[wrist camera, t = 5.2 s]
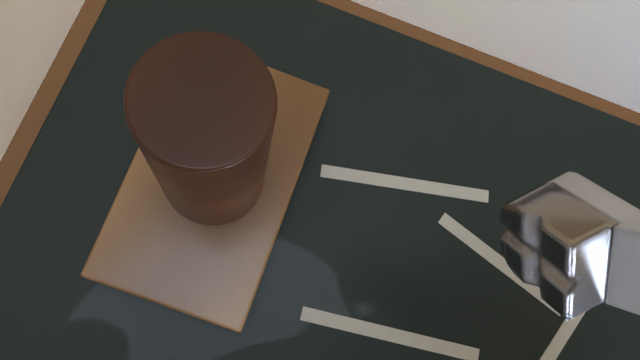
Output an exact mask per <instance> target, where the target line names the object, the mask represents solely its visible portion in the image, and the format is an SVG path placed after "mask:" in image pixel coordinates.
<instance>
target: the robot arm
mask: <svg viewBox="0 0 640 360" xmlns="http://www.w3.org/2000/svg"><path fill="white" fill-rule="evenodd" d="M500 222H501V223H502V224H504V225H505V226H506V227H507V228H506V230H505V232H504V234H503V236H502V238H501V246H502V254H503V256H504V258H505V260H506V263H507V265H508V267H509V268H510V269H511V270H512V272H513V273H514V274H515V275H516V276H517V277H518V278H519V279H520V280H521V281H522V282H523V283H525V284H529V285H533V286H537V287H539V288H540V294H541V298H542V299H543V300H544V301H545V302H546V303H547V304H548V305H550V306H551V307H552V308H553V309H554V310H555V311H557V312H558V313H559V314H560V315H561V316H562V317H563V318H565V319H566V320H567V321H569V320H571V319H572V318H574V317H576V316H578V315H580V314H582V313H584V312H586V311H588V310H590V309H591V308H593V307H595V306H597V305H599V304H601V303H603V302H605V301H606V304H608V305H611V306H614V307H617V308H620V309H623V310H626V311H629V312H631V313H634V314H637V315H640V209H638V208H636V207H634V206H633V205H631V204H629V203H628V202H626V201H624V200H622V199H621V198H619V197H617V196H616V195H614V194H612V193H611V192H609V191H607V190H605V189H604V188H602V187H600V186H599V185H597V184H595V183H593V182H592V181H590V180H588V179H587V178H585V177H583V176H582V175H580V174H578V173H575V172H569V171H568V172H566V173H564V174H562V175H560V176H559V177H557V178H555V179H553V180H551V181H549V182H547V183H546V184H542V185H540V186H538V187H536V188H534V189H532V190H530V191H529V192H527V193H525V194H523V195H521V196H519V197H517V198H515V199H513V200H511V201H509V202H507V203H505V204H503V205H502V208H501V210H500Z"/></svg>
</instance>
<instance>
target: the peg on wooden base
mask: <svg viewBox="0 0 640 360" xmlns="http://www.w3.org/2000/svg"><path fill="white" fill-rule="evenodd" d="M329 93H330V91H329V90H328V89H326V88H323V87H320V86H318V85H315V84H312V83H310V82H307V81H305V80H302V79H299V78H297V77H294V76H291V75H289V74H286V73H284V72H281V71H278V70H276V69H273V68H270V67H268V66H266V65H265V63H264V62H263V61H262V59H261V58H260V57H259V56H258V55H257V54H256V53H255V52H254V51H253V50H251V49H250V48H249V47H247V46H246V45H245V44H243V43H241V42H240V41H238V40H236V39H234V38H231V37H229V36H226V35H223V34H220V33H214V32H207V31H192V32H185V33H180V34H177V35H173V36H171V37H168V38H166V39H164V40H162V41H160V42H159V43H157V44H155V45H154V46H153V47H151V48H150V49H149V50H147V51H146V52H145V53H144V54H143V55H142V56H141V57H140V59H139V60H138V61H137V63H136V64H135V65H134V67H133V69H132V71H131V72H130V74H129V77H128V79H127V82H126V86H125V90H124V99H123V104H124V114H125V119H126V122H127V125H128V128H129V130H130V132H131V134H132V136H133V137H134V139H135V141H136V143H137V145H138V146H139V147H138V150H137V152H136V154H135V156H134V158H133V161H132V163H131V165H130V167H129V169H128V171H127V174H126V176H125V178H124V180H123V182H122V185H121V187H120V189H119V191H118V193H117V195H116V198H115V200H114V202H113V204H112V206H111V209H110V211H109V213H108V215H107V217H106V219H105V222H104V224H103V226H102V228H101V230H100V233H99V235H98V237H97V239H96V241H95V243H94V246H93V248H92V250H91V252H90V254H89V257H88V259H87V261H86V263H85V265H84V267H83V270H82V272H81V276H82V277H84V278H87V279H89V280H92V281H95V282H98V283H101V284H104V285H106V286H109V287H112V288H115V289H118V290H120V291H123V292H126V293H129V294H132V295H135V296H137V297H140V298H143V299H146V300H149V301H151V302H154V303H157V304H160V305H163V306H165V307H168V308H171V309H174V310H177V311H180V312H182V313H185V314H188V315H191V316H194V317H196V318H199V319H202V320H205V321H208V322H211V323H213V324H216V325H219V326H222V327H225V328H227V329H230V330H233V331H236V332H241V331H242V329H243V327H244V324H245V321H246V318H247V316H248V313H249V310H250V308H251V305H252V302H253V299H254V297H255V294H256V291H257V289H258V286H259V283H260V280H261V278H262V275H263V272H264V269H265V267H266V264H267V261H268V259H269V256H270V253H271V250H272V248H273V245H274V242H275V240H276V237H277V234H278V231H279V229H280V226H281V223H282V221H283V218H284V215H285V212H286V210H287V207H288V204H289V201H290V199H291V196H292V193H293V191H294V188H295V185H296V182H297V180H298V177H299V174H300V172H301V169H302V166H303V163H304V161H305V158H306V155H307V153H308V150H309V147H310V144H311V142H312V139H313V136H314V134H315V131H316V128H317V125H318V123H319V120H320V117H321V114H322V112H323V109H324V106H325V104H326V101H327V98H328V95H329Z"/></svg>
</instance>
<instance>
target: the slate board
mask: <svg viewBox="0 0 640 360" xmlns="http://www.w3.org/2000/svg"><path fill="white" fill-rule="evenodd" d="M192 31H207V32H214V33H220V34H223V35H226V36H229V37H231V38H234V39H236V40H238V41H240V42H241V43H243V44H245V45H246V46H247V47H249V48H250V49H251V50H253V51H254V52H255V53H256V54H257V55H258V56H259V57H260V58H261V59H262V61H263V62H264V63H265V65H266V66H268V67H270V68H273V69H276V70H278V71H281V72H284V73H286V74H289V75H291V76H294V77H297V78H299V79H302V80H305V81H307V82H310V83H312V84H315V85H318V86H320V87H323V88H326V89H328V90H329V91H330V93H329V95H328V98H327V101H326V104H325V106H324V109H323V112H322V114H321V117H320V120H319V123H318V125H317V128H316V131H315V134H314V136H313V139H312V142H311V144H310V147H309V150H308V153H307V155H306V158H305V161H304V163H303V166H302V169H301V172H300V174H299V177H298V180H297V182H296V185H295V188H294V191H293V193H292V196H291V199H290V201H289V204H288V207H287V210H286V212H285V215H284V218H283V221H282V223H281V226H280V229H279V231H278V234H277V237H276V240H275V242H274V245H273V248H272V250H271V253H270V256H269V259H268V261H267V264H266V267H265V269H264V272H263V275H262V278H261V280H260V283H259V286H258V289H257V291H256V294H255V297H254V299H253V302H252V305H251V308H250V310H249V313H248V316H247V318H246V321H245V324H244V327H243V329H242V331H241V332H236V331H233V330H230V329H227V328H225V327H222V326H219V325H216V324H213V323H211V322H208V321H205V320H202V319H199V318H196V317H194V316H191V315H188V314H185V313H182V312H180V311H177V310H174V309H171V308H168V307H165V306H163V305H160V304H157V303H154V302H151V301H149V300H146V299H143V298H140V297H137V296H135V295H132V294H129V293H126V292H123V291H120V290H118V289H115V288H112V287H109V286H106V285H104V284H101V283H98V282H95V281H92V280H89V279H87V278H84V277H82V276H81V272H82V270H83V267H84V265H85V263H86V261H87V259H88V257H89V254H90V252H91V250H92V248H93V246H94V243H95V241H96V239H97V237H98V235H99V233H100V230H101V228H102V226H103V224H104V222H105V219H106V217H107V215H108V213H109V211H110V209H111V206H112V204H113V202H114V200H115V198H116V195H117V193H118V191H119V189H120V187H121V185H122V182H123V180H124V178H125V176H126V174H127V171H128V169H129V167H130V165H131V163H132V161H133V158H134V156H135V154H136V152H137V150H138V147H139V146H138V145H137V143H136V141H135V139H134V137H133V136H132V134H131V132H130V130H129V128H128V125H127V122H126V119H125V114H124V104H123V99H124V90H125V86H126V82H127V79H128V77H129V74H130V72H131V71H132V69H133V67H134V65H135V64H136V63H137V61H138V60H139V59H140V57H141V56H142V55H143V54H144V53H145V52H146V51H147V50H149V49H150V48H151V47H153V46H154V45H155V44H157V43H159V42H160V41H162V40H164V39H166V38H168V37H171V36H173V35H177V34H180V33H185V32H192ZM568 171H569V172H575V173H578V174H580V175H582V176H583V177H585V178H587V179H588V180H590V181H592V182H593V183H595V184H597V185H599V186H600V187H602V188H604V189H605V190H607V191H609V192H611V193H612V194H614V195H616V196H617V197H619V198H621V199H622V200H624V201H626V202H628V203H629V204H631V205H633V206H634V207H636V208H638V209H640V113H637V112H635V111H632V110H630V109H627V108H625V107H622V106H619V105H617V104H614V103H612V102H609V101H607V100H604V99H601V98H599V97H596V96H594V95H591V94H589V93H586V92H583V91H581V90H578V89H576V88H573V87H571V86H568V85H565V84H563V83H560V82H558V81H555V80H553V79H550V78H548V77H545V76H542V75H540V74H537V73H535V72H532V71H530V70H527V69H524V68H522V67H519V66H517V65H514V64H512V63H509V62H506V61H504V60H501V59H499V58H496V57H494V56H491V55H488V54H486V53H483V52H481V51H478V50H476V49H473V48H470V47H468V46H465V45H463V44H460V43H458V42H455V41H453V40H450V39H447V38H445V37H442V36H440V35H437V34H435V33H432V32H429V31H427V30H424V29H422V28H419V27H417V26H414V25H411V24H409V23H406V22H404V21H401V20H399V19H396V18H393V17H391V16H388V15H386V14H383V13H381V12H378V11H375V10H373V9H370V8H368V7H365V6H363V5H360V4H358V3H355V2H352V1H350V0H86V1H85V3H84V5H83V6H82V8H81V10H80V12H79V14H78V16H77V18H76V20H75V22H74V23H73V25H72V27H71V29H70V31H69V33H68V35H67V37H66V39H65V41H64V42H63V44H62V46H61V48H60V50H59V52H58V54H57V56H56V58H55V59H54V61H53V63H52V65H51V67H50V69H49V71H48V73H47V75H46V77H45V78H44V80H43V82H42V84H41V86H40V88H39V90H38V92H37V94H36V95H35V97H34V99H33V101H32V103H31V105H30V107H29V109H28V111H27V113H26V114H25V116H24V118H23V120H22V122H21V124H20V126H19V128H18V130H17V131H16V133H15V135H14V137H13V139H12V141H11V143H10V145H9V147H8V149H7V150H6V152H5V154H4V156H3V158H2V160H1V162H0V360H640V315H637V314H634V313H631V312H629V311H626V310H623V309H620V308H617V307H614V306H611V305H608V304H606V301H605V302H603V303H601V304H599V305H597V306H595V307H593V308H591V309H590V310H588V311H586V312H584V313H582V314H580V315H578V316H576V317H574V318H572V319H571V320H569V321H567V320H566V319H565V318H563V317H562V316H561V315H560V314H559V313H558V312H557V311H555V310H554V309H553V308H552V307H551V306H550V305H548V304H547V303H546V302H545V301H544V300H543V299H542V298H541V294H540V288H539V287H537V286H533V285H529V284H525V283H523V282H522V281H521V280H520V279H519V278H518V277H517V276H516V275H515V274H514V273H513V272H512V270H511V269H510V268H509V267H508V265H507V263H506V260H505V258H504V256H503V254H502V246H501V238H502V236H503V234H504V232H505V230H506V228H507V227H506V226H505V225H504V224H502V223H501V222H500V210H501V208H502V205H503V204H505V203H507V202H509V201H511V200H513V199H515V198H517V197H519V196H521V195H523V194H525V193H527V192H529V191H530V190H532V189H534V188H536V187H538V186H540V185H542V184H546V183H547V182H549V181H551V180H553V179H555V178H557V177H559V176H560V175H562V174H564V173H566V172H568Z"/></svg>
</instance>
